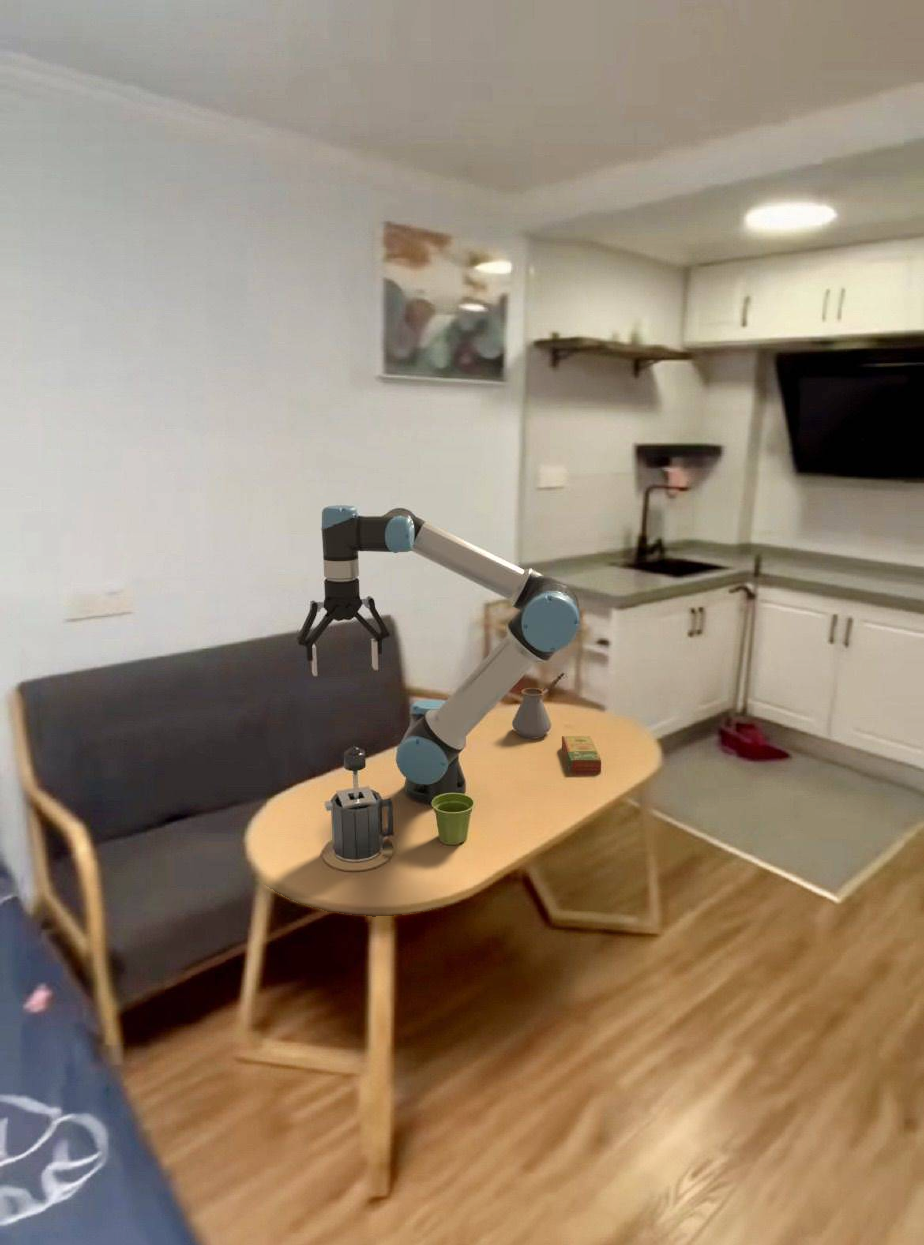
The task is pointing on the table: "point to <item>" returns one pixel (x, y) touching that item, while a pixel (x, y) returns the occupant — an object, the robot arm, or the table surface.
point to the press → (359, 831)
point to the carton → (581, 754)
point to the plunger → (354, 765)
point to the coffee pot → (533, 713)
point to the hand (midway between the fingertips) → (345, 671)
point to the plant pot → (453, 816)
